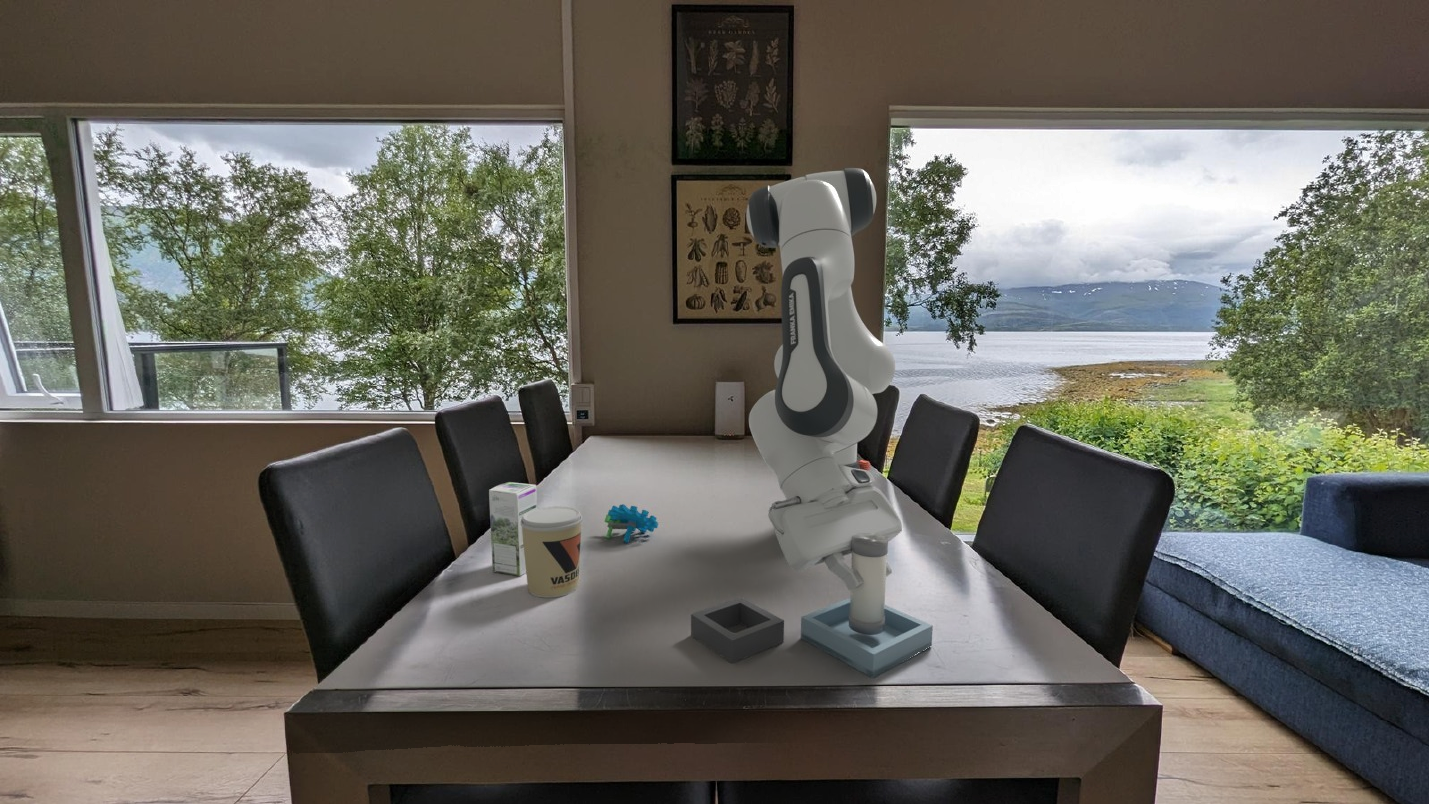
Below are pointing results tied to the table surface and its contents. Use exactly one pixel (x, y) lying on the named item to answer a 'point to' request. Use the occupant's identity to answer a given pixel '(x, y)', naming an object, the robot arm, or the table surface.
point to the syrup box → (509, 525)
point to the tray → (866, 638)
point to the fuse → (868, 583)
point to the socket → (742, 644)
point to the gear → (629, 521)
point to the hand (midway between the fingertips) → (871, 581)
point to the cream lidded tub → (552, 550)
